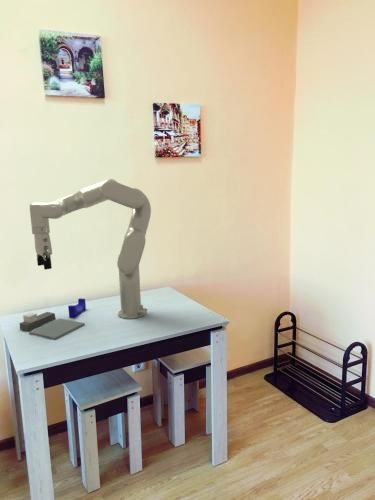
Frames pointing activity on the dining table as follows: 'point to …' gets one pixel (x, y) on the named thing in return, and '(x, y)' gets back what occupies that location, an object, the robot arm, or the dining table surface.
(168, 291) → the dining table surface
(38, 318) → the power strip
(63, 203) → the robot arm
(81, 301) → the blue curved block
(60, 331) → the slate mat
